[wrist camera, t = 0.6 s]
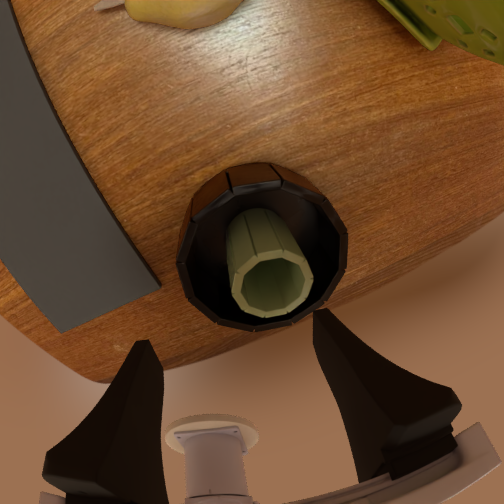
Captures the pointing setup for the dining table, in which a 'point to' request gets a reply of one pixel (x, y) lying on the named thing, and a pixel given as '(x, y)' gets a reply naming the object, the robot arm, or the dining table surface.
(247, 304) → the small pot
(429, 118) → the dining table surface
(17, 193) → the mat
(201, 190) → the large pot
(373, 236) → the dining table surface
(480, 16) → the flower pot
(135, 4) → the fruit
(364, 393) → the robot arm
